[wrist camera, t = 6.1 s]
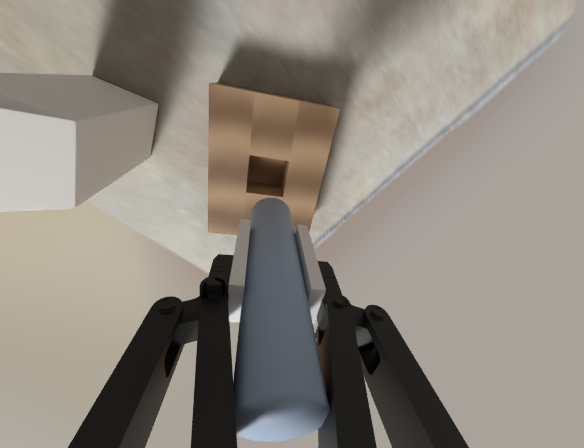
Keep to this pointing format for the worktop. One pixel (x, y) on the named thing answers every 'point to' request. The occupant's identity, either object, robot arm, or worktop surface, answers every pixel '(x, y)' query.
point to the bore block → (264, 154)
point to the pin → (276, 336)
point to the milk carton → (67, 138)
